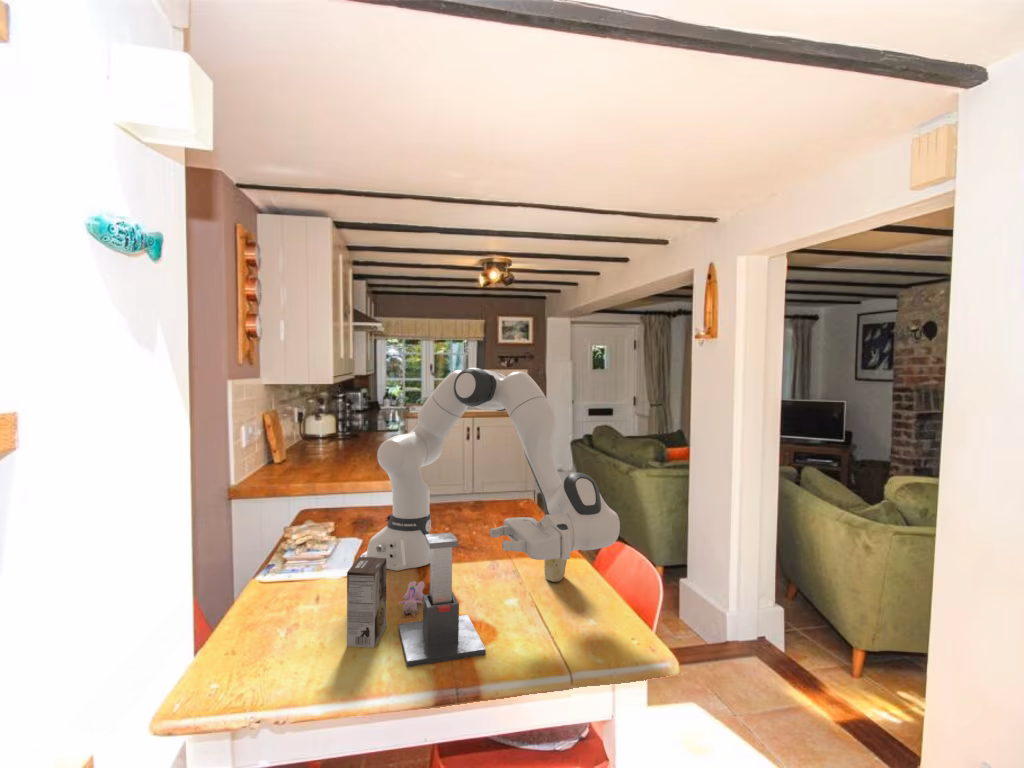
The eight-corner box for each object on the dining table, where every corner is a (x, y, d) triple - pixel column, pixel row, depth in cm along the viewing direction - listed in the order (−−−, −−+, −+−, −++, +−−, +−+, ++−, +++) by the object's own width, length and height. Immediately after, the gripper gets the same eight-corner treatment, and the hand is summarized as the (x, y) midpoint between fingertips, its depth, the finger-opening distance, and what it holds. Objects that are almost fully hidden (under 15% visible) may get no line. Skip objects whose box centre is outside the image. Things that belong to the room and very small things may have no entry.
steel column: (428, 643, 111) (429, 543, 111) (424, 630, 117) (425, 534, 116) (456, 639, 113) (458, 540, 113) (451, 626, 119) (452, 532, 118)
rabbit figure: (421, 623, 126) (430, 587, 141) (420, 601, 125) (430, 567, 139) (394, 623, 126) (406, 587, 140) (394, 600, 125) (406, 566, 139)
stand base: (407, 667, 105) (407, 621, 105) (398, 629, 120) (398, 588, 120) (485, 654, 110) (486, 610, 110) (467, 619, 125) (468, 580, 125)
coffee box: (358, 626, 121) (359, 556, 121) (387, 627, 121) (387, 556, 121) (345, 647, 112) (345, 571, 112) (375, 648, 112) (376, 572, 111)
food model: (565, 586, 146) (567, 513, 145) (541, 584, 147) (542, 511, 146) (568, 572, 155) (569, 504, 155) (545, 570, 156) (546, 503, 156)
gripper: (537, 509, 132) (484, 513, 128) (572, 532, 113) (510, 538, 109) (537, 534, 133) (484, 539, 128) (572, 562, 113) (510, 569, 109)
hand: (496, 539), depth 118 cm, fingers open, 8 cm apart
